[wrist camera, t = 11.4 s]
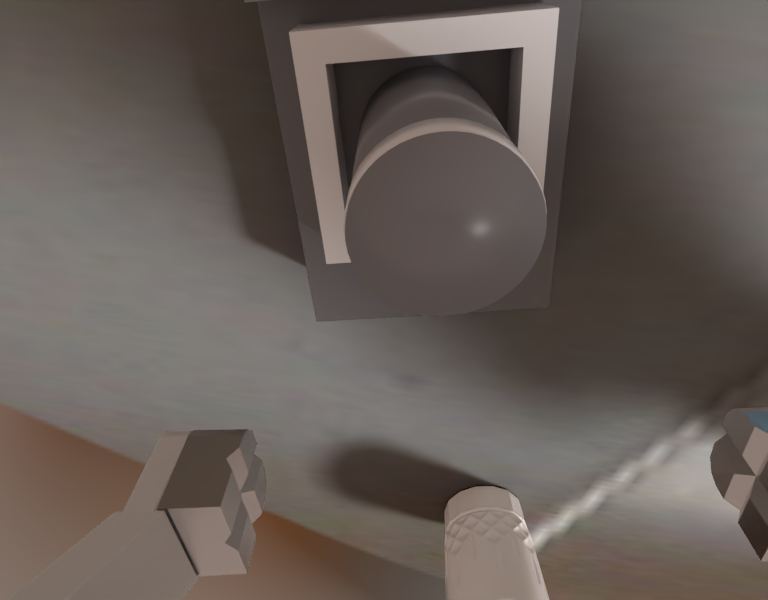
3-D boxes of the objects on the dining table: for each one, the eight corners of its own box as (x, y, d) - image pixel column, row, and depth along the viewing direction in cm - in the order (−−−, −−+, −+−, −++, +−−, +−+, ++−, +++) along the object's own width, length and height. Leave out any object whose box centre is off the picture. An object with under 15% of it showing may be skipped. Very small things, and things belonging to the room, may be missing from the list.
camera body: (561, -147, 23) (627, -184, 16) (529, 263, 34) (561, 335, 27) (261, -115, 23) (212, -138, 17) (325, 276, 34) (310, 349, 28)
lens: (495, 58, 22) (558, 122, 14) (490, 194, 26) (539, 311, 17) (351, 70, 23) (330, 140, 14) (365, 203, 26) (354, 322, 18)
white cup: (511, 539, 50) (535, 657, 41) (429, 529, 49) (437, 648, 41) (538, 486, 46) (571, 606, 37) (449, 475, 45) (461, 594, 37)
